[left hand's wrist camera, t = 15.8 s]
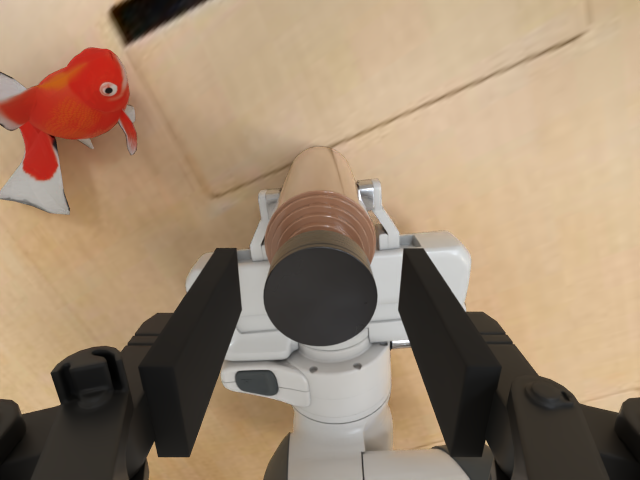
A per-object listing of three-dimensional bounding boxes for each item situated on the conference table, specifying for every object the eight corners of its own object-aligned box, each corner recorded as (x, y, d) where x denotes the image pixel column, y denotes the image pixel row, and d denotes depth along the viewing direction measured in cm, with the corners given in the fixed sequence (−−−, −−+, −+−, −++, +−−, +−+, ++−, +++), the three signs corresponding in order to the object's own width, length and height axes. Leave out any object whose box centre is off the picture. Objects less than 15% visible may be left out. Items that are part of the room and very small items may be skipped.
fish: (201, 189, 27) (45, 192, 18) (86, 222, 35) (-59, 235, 26) (171, 39, 26) (-4, -30, 18) (62, 108, 34) (-95, 83, 26)
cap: (392, 263, 14) (401, 284, 13) (334, 336, 16) (336, 363, 14) (303, 209, 14) (301, 224, 12) (250, 291, 15) (242, 314, 13)
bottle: (317, 220, 33) (313, 374, 15) (275, 175, 31) (216, 286, 13) (364, 181, 32) (422, 299, 14) (323, 132, 30) (328, 191, 12)
